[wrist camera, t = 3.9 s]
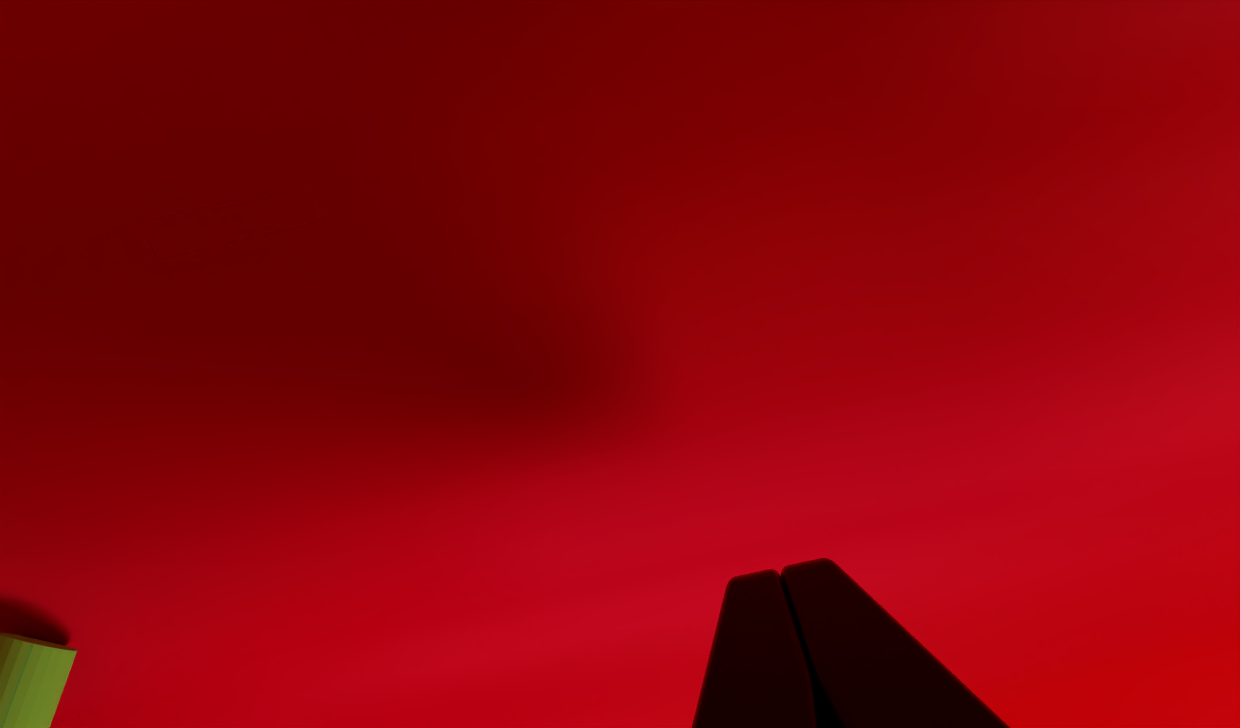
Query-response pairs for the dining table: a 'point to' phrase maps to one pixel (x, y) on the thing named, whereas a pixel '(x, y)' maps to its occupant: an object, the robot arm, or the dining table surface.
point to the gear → (31, 680)
